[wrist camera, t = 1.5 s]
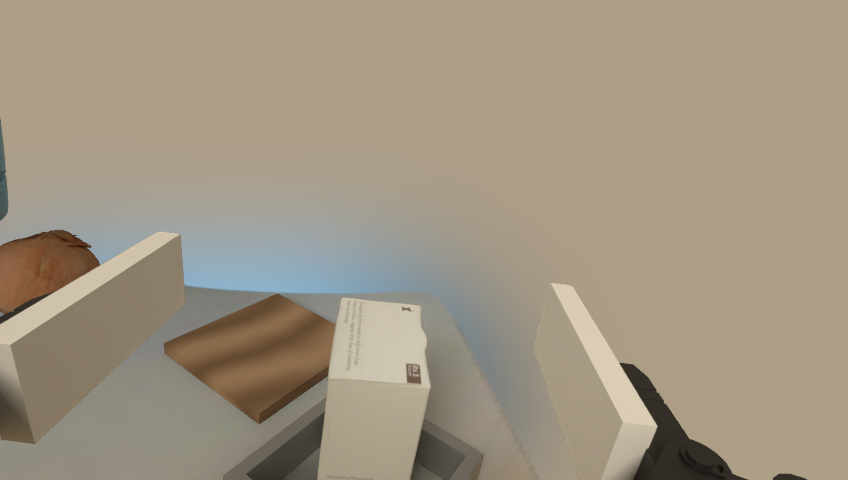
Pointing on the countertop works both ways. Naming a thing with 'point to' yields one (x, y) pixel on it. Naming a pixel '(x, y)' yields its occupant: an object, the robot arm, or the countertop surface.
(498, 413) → the countertop surface
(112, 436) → the countertop surface
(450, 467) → the holder
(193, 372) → the coaster
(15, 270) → the onion
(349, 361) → the skincare box
